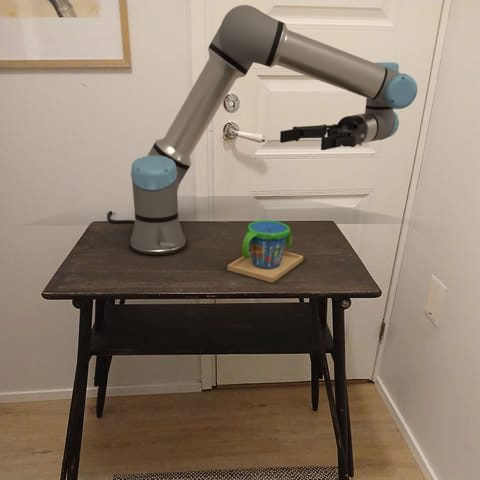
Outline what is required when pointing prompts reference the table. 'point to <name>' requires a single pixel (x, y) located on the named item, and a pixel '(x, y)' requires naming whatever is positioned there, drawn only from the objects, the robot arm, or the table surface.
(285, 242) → the snack cup
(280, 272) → the tray
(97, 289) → the table surface
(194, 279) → the table surface
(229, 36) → the robot arm
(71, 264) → the table surface
